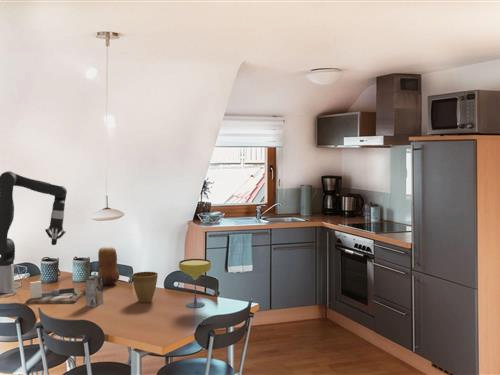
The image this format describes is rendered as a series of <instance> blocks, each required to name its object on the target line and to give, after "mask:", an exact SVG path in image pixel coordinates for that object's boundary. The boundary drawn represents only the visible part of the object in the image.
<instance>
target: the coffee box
mask: <svg viewBox="0 0 500 375" xmlns="http://www.w3.org/2000/svg"><path fill="white" fill-rule="evenodd" d="M84 280H85V282H84V284H85V285H84V286H85V287H84V289H85V291H84V292H85V306H86V307H93V308H95V307H98V306H100V305H101V304H103V303H104V286H103V285H104V284H103V281H102V275H98V274H96V275H94V274H93V275H90V276H88V277H86V278H84Z"/></svg>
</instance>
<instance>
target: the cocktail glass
mask: <svg viewBox="0 0 500 375" xmlns="http://www.w3.org/2000/svg"><path fill="white" fill-rule="evenodd" d="M178 268H179V271H181V273H184V274H185V275H188V276H190V277H191V279H192V280H194V299H193V300H194V301H192V302H188V303H186V304H185V307H187V308H190V309H199V308H203V307H204V306H206V303H204V302H199V301H197V285H196V284H197V282H196V280H198V279H199V277H200V276H202V275H204V274H205V273H208V272H209V270H211V268H212V262H211V260H208V259H204V258H189V259H183V260H180V261H179V262H178Z"/></svg>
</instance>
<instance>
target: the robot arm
mask: <svg viewBox="0 0 500 375" xmlns="http://www.w3.org/2000/svg"><path fill="white" fill-rule="evenodd" d="M14 187H21V188H26V189H27V190H31V191H34V192H37V193H41V194H45V195H49V196H53V197H54V198H53V199H54V200H53V202H52V210H51V214H50V222H49V226H48V228H46V229H45V230H44V232H45V233H46V234H47V236H48V238H50V239H51V241H50V242H51V245H52V246H56V245H57V243H58V242H57V241H58V240H59V239H61V238H62V237H63V236H64V235H65V234H66V233H67V231H65V230H64V228H63V226H64V225H63V224H64V219H65V218H64V217H65V205H66V199H67V195H68V193H67V192H68V191H67V188H66V187H65V186H64V185H63V186H62V185H58V184H57V185H56V184H52V183H49V182H46V181H42V180H37V179H33V178H29V177H25V176H22V175H20V174H18V173H15V172H12V171H11V170H10V171H4V172H3V173H0V294H9V293H10V294H11V293H13V292H15V269H14V268H15V266H14V261H15V257H16V246H15V245H16V244H15V242H14V240H13V239H11V238H9V237H8V234H9V231H10V228H11V226H12V225H13V221H14V216H15V203H14V198H13V196H14V195H13V194H14Z"/></svg>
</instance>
